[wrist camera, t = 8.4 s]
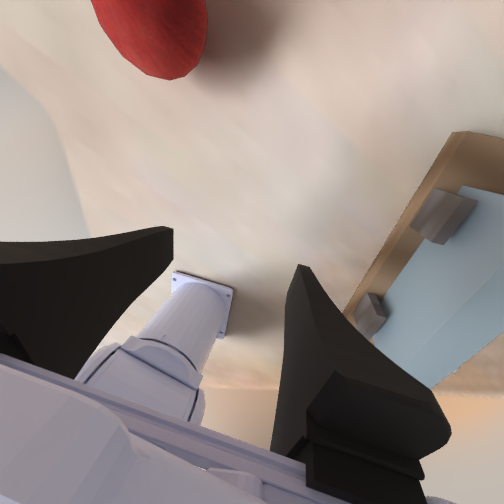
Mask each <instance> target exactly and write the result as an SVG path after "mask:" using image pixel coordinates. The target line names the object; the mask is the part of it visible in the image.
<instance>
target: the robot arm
mask: <svg viewBox="0 0 504 504" xmlns="http://www.w3.org/2000/svg"><path fill="white" fill-rule="evenodd" d="M172 260H173V229H172V228H169V227H165V226H158V227H152V228H147V229H142V230H137V231H132V232H127V233H121V234H115V235H110V236H104V237H97V238H89V239H80V240H67V241H50V242H49V241H48V242H0V504H456V503H453V502H450V501H447V500H444V499H441V498H437V497H429V496H427V497H425V496H424V493H423V490H422V487H421V484H420V482H419V480H424V478H425V475H424V472H423V470H422V467H421V464H420V462H419V460H420V459H421V458H423V457H425V456H427V455H429V454H430V453H433V452H435V451H436V450H438V449H440V448H441V447H443V446H444V445H445V444H447V442H448V440H449V438H450V436H451V434H452V432H451V427H450V424H449V423H448V421H447V419H446V417H445V415H444V413H443V412H442V409H441V408H440V406H439V404H438V402H437V400H436V398H435V396H434V395H433V393H432V391H431V390H430V389H429V388H428V387H426V386H425V385H424V384H422V383H421V382H419V381H418V380H417V379H415V378H414V377H413V376H411V375H410V374H409V373H407V372H406V371H405V370H403V369H402V368H401V367H399V366H398V365H397V364H395V363H394V362H393V361H392V360H391V359H389V358H388V357H387V356H386V355H384V354H383V353H382V352H381V351H380V350H379V349H377V348H376V347H375V346H374V345H373V344H372V343H371V342H369V341H368V340H367V339H366V338H365V337H364V336H363V335H362V334H361V333H360V332H359V331H358V330H357V329H356V328H355V327H354V326H353V325H352V324H351V323H350V322H349V321H348V320H347V318H346V317H345V316H344V315H343V314H342V313H341V312H340V311H339V309H338V308H337V307H336V306H335V304H334V303H333V302H332V300H331V299H330V298H329V296H328V295H327V294H326V292H325V291H324V289H323V288H322V286H321V285H320V283H319V281H318V280H317V278H316V277H315V275H314V273H313V272H312V270H311V269H310V267H307V266H304V265H300V264H298V266H297V269H296V271H295V274H294V277H293V279H292V282H291V284H290V287H289V290H288V292H287V298H286V305H285V329H284V356H283V364H282V372H281V380H280V387H279V394H278V401H277V409H276V415H275V422H274V428H273V434H272V441H271V447H270V451H268V450H265V449H263V448H260V447H257V446H254V445H252V444H249V443H246V442H243V441H241V440H237V439H235V438H232V437H230V436H227V435H224V434H221V433H219V432H216V431H213V430H210V429H208V428H205V427H202V426H200V425H201V422H202V418H203V415H204V410H205V398H204V391H203V390H202V389H200V388H198V387H199V385H200V382H201V380H202V377H203V375H201V372H202V370H203V368H204V365H205V363H206V361H207V358H208V356H209V354H210V351H211V349H212V347H213V344H214V342H215V340H216V338H218V339H223V338H224V336H225V331H226V326H227V321H228V316H229V311H230V306H231V301H232V296H233V289H232V288H229V287H226V286H223V285H219V284H216V283H213V282H209V281H206V280H203V279H199V278H196V277H193V276H189V275H186V274H183V273H179V272H176V271H174V272H173V273H172V274H171V296H170V297H169V298H168V299H167V301H166V302H165V303H164V304H163V305H162V306H161V308H160V309H159V310H158V311H157V312H156V313H155V315H154V316H153V317H152V318H151V319H150V320H149V322H148V323H147V324H146V325H145V326H144V328H143V329H142V330H141V331H140V332H139V333H138V335H137V336H136V337H134V336H130V337H129V339H128V340H127V341H126V342H125V343H124V344H123V345H121V344H119V343H112V344H111V345H107V346H104V347H102V348H101V349H99V350H98V351H96V352H95V353H94V354H93V355H92V356H91V354H92V353H93V352H94V350H95V349H96V348H97V346H98V345H99V343H100V342H101V341H102V339H103V338H104V337H105V335H106V334H107V333H108V331H109V330H110V329H111V328H112V326H113V325H114V324H115V323H116V321H117V320H118V319H119V318H120V316H121V315H122V314H123V313H124V312H125V310H126V309H127V308H128V307H129V306H130V305H131V304H132V303H133V302H134V300H135V299H136V298H137V297H138V296H140V295H141V294H142V293H143V292H144V291H145V290H146V289H147V288H148V287H149V286H150V285H151V284H152V283H153V282H154V281H155V280H156V279H157V278H158V277H159V276H160V275H161V274H162V273H163V272H164V271H165V270H166V268H167V267H168V266H169V264H170V263H171V262H172ZM175 278H176V279H175ZM228 294H229V295H228ZM90 356H91V357H90ZM89 357H90V358H89ZM194 465H195V466H194ZM196 466H197V467H196ZM198 467H200V468H203V469H205V470H206V471H204V470H202V469H200V468H198Z"/></svg>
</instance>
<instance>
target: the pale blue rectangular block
mask: <svg viewBox="0 0 504 504" xmlns="http://www.w3.org/2000/svg"><path fill="white" fill-rule="evenodd" d="M457 194H458V195H461V196H464V197H467V198H470V199H473V200H477V201H478V202H477V203H476V205H475V206H474V207H473V209H472V210H471V211H470V212H469V214H468V215H467V216H466V218H465V219H464V220H463V221H462V223H461V224H460V225H459V227H458V228H457V229H456V230H455V232H454V233H453V234H452V235H451V237H450V238H449V239H448V241H447V242H446V243H445V244H444V245H440V244H436V243H432V242H430V241H429V240H427V239H426V238H425V239H424V240H423V242H422V243H421V244H420V246H419V247H418V249H417V250H416V252H415V253H414V254H413V256H412V257H411V259H410V260H409V261H408V263H407V264H406V266H405V267H404V268H403V270H402V271H401V273H400V274H399V275H398V277H397V278H396V280H395V281H394V282H393V284H392V285H391V287H390V288H389V289H388V291H387V292H386V294H385V295H384V296H383V298H382V299H381V301H380V302H379V303H380V305H381V307H382V309H383V311H384V313H385V315H386V317H387V319H386V320H385V321H384V322H383V324H382V325H381V326H380V328H379V329H378V330H377V331H376V333H375V334H374V335H373V337H372V339H373V341H374V344H375V346H376V348H377V349H379V350H380V351H381V352H382V353H383V354H384V355H386V356H387V357H388V358H389V359H391V360H392V361H393V362H394V363H395V364H397V365H398V366H399V367H401V368H402V369H403V370H405V371H406V372H407V373H409V374H410V375H411V376H413V377H414V378H415V379H417V380H418V381H419V382H421V383H422V384H424V385H425V386H426V387H428V388H429V389H432V388H433V387H434V386H435V385H437V384H438V383H439V382H440V381H442V380H443V379H444V378H446V377H447V376H448V375H449V374H451V373H453V374H455V373H457V372H458V371H459V370H460V366H461V365H462V364H463V363H465V362H466V361H467V360H468V359H470V358H471V357H472V356H474V355H475V354H476V353H477V352H479V351H480V350H481V349H482V348H484V347H485V346H486V345H488V344H489V343H490V342H491V341H493V340H494V339H495V338H496V337H498V336H499V335H500V334H502V333H503V332H504V195H502V194H498V193H493V192H489V191H485V190H481V189H476V188H472V187H468V186H462V187H461V188H460V190H459V191H458V193H457Z"/></svg>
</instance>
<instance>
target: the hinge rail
mask: <svg viewBox="0 0 504 504" xmlns="http://www.w3.org/2000/svg"><path fill="white" fill-rule="evenodd" d="M462 186H468V187H472V188H476V189H481V190H485V191H489V192H493V193H498V194H502V195H504V139H502V138H497V137H492V136H487V135H483V134H478V133H473V132H468V131H467V132H454V133H452V134H451V136H450V137H449V139H448V140H447V142H446V144H445V145H444V147H443V149H442V150H441V152H440V154H439V155H438V157H437V159H436V160H435V162H434V163H433V165H432V167H431V168H430V170H429V172H428V173H427V175H426V177H425V178H424V180H423V182H422V183H421V185H420V187H419V188H418V190H417V191H416V193H415V195H414V196H413V198H412V200H411V201H410V203H409V205H408V206H407V208H406V210H405V211H404V213H403V215H402V216H401V218H400V219H399V221H398V223H397V224H396V226H395V228H394V229H393V231H392V233H391V234H390V236H389V238H388V239H387V241H386V242H385V244H384V246H383V247H382V249H381V251H380V252H379V254H378V256H377V257H376V259H375V261H374V262H373V264H372V266H371V267H370V269H369V270H368V272H367V274H366V275H365V277H364V279H363V280H362V282H361V284H360V285H359V287H358V289H357V290H356V292H355V293H354V295H353V297H352V298H351V300H350V302H349V303H348V305H347V307H346V308H345V310H344V312H343V313H342V314H343V315H344V316H345V317H346V318H347V320H348V321H349V322H350V323H351V324H352V325H353V326H354V327H355V328H356V329H357V330H358V331H359V332H360V333H361V334H362V335H363V336H364V337H365V338H366V339H367V340H368V341H369V342H371V343H372V344H373V345H374V346H375V344H374V341H373V339H372V337H373V335H374V334H375V333H376V331H377V330H378V329H379V328H380V326H381V325H382V324H383V322H384V321H385V320H386V319H387V317H386V315H385V313H384V311H383V309H382V307H381V305H380V303H379V302H380V301H381V299H382V298H383V296H384V295H385V294H386V292H387V291H388V289H389V288H390V287H391V285H392V284H393V282H394V281H395V280H396V278H397V277H398V275H399V274H400V273H401V271H402V270H403V268H404V267H405V266H406V264H407V263H408V261H409V260H410V259H411V257H412V256H413V254H414V253H415V252H416V250H417V249H418V247H419V246H420V244H421V243H422V242H423V240H424V239H425V238H426V239H427V240H429V241H430V242H432V243H436V244H440V245H444V244H445V243H446V242H447V241H448V239H449V238H450V237H451V235H452V234H453V233H454V232H455V230H456V229H457V228H458V227H459V225H460V224H461V223H462V221H463V220H464V219H465V218H466V216H467V215H468V214H469V212H470V211H471V210H472V209H473V207H474V206H475V205H476V203H477V202H478V201H477V200H473V199H470V198H467V197H464V196H461V195H458V194H457V193H458V191H459V190H460V188H461V187H462Z"/></svg>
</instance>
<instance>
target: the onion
mask: <svg viewBox="0 0 504 504" xmlns="http://www.w3.org/2000/svg"><path fill="white" fill-rule="evenodd" d="M91 2H92V5H93V7H94V10H95V13H96V15H97V18H98V21H99V23H100V25H101V27H102V29H103V30H104V32H105V33H106V34H107V36H108V37H109V39H110V40H111V41H112V43H113V44H114V45H115V47H116V48H117V50H118V51H119V52H120V53H121V55H122V56H123V57H124V58H125V59H127V60H128V61H129V62H131V63H132V64H133V65H134V66H136V67H137V68H138V69H140V70H141V71H142V72H144V73H145V74H146V75H149V76H153V77H157V78H161V79H166V80H173V79H177V78H181V77H185V76H186V75H187V74H188V73H189V72H190V71H191V70H192V69H193V68H195V67H196V66H197V65H198V63H199V60H200V58H201V55H202V53H203V50H204V48H205V45H206V36H207V25H208V18H207V11H206V4H205V0H91Z"/></svg>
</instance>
